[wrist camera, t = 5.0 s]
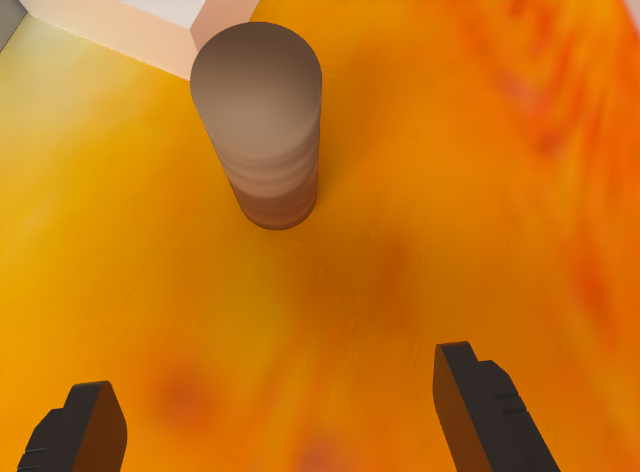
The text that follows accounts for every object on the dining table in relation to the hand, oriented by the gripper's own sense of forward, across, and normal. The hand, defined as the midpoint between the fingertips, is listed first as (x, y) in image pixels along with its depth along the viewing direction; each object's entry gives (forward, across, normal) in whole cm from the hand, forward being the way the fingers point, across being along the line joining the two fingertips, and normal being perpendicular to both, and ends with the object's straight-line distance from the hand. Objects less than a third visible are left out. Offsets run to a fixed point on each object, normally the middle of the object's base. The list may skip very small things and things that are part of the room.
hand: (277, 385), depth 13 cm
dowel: (+17, 0, +3) cm, 17 cm away
